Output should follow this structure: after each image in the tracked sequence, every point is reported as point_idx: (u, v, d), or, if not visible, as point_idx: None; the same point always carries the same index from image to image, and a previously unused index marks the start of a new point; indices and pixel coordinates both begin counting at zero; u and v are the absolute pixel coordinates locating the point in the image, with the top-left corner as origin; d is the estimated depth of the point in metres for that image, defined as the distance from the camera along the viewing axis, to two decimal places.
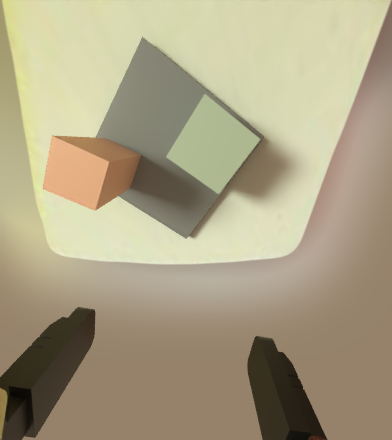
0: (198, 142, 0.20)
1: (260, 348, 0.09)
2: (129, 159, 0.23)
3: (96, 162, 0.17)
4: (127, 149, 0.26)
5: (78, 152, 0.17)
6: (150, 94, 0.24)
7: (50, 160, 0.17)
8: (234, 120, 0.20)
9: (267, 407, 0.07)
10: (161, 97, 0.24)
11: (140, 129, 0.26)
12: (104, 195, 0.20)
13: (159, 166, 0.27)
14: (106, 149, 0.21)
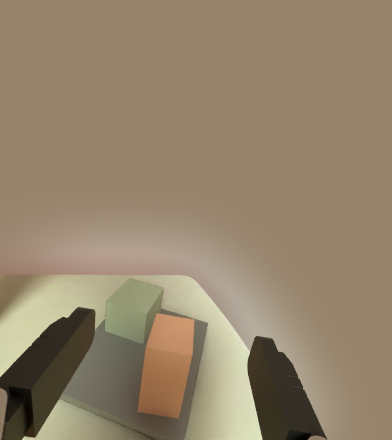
0: (134, 300, 0.33)
1: (260, 348, 0.09)
2: None
3: (158, 319, 0.25)
4: None
5: (154, 330, 0.23)
6: (94, 371, 0.27)
7: (165, 348, 0.21)
8: (120, 288, 0.35)
9: (267, 407, 0.07)
10: (97, 360, 0.28)
11: (125, 374, 0.27)
12: None
13: None
14: None
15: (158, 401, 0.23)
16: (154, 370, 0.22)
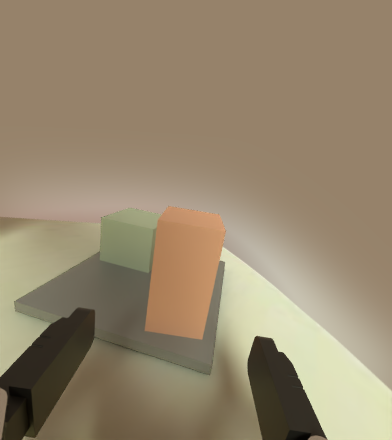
0: (137, 220, 0.26)
1: (260, 348, 0.09)
2: None
3: (172, 209, 0.18)
4: None
5: (167, 213, 0.17)
6: (85, 291, 0.20)
7: (186, 223, 0.15)
8: (119, 211, 0.28)
9: (267, 407, 0.07)
10: (90, 283, 0.22)
11: (127, 296, 0.21)
12: None
13: None
14: None
15: (174, 312, 0.16)
16: (169, 259, 0.15)
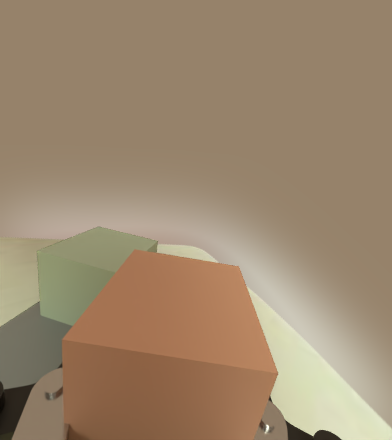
0: (99, 252, 0.16)
1: None
2: None
3: (139, 260, 0.08)
4: None
5: (119, 283, 0.07)
6: None
7: (155, 344, 0.05)
8: (76, 236, 0.19)
9: None
10: None
11: None
12: None
13: None
14: None
15: None
16: (110, 434, 0.05)
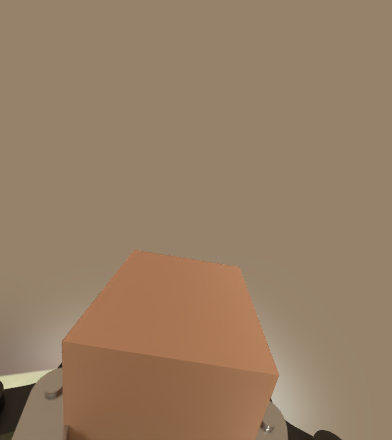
0: None
1: None
2: None
3: (139, 261, 0.08)
4: None
5: (119, 284, 0.07)
6: None
7: (155, 346, 0.05)
8: None
9: None
10: None
11: None
12: None
13: None
14: None
15: None
16: (110, 436, 0.05)
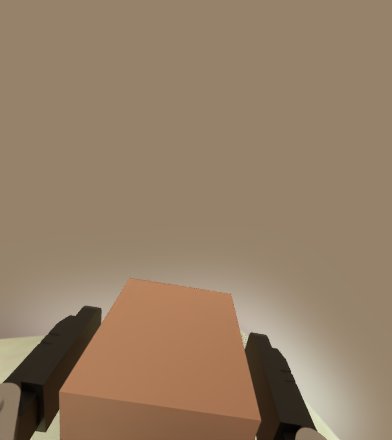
0: None
1: (254, 344, 0.09)
2: None
3: (134, 292, 0.09)
4: None
5: (114, 321, 0.07)
6: None
7: (146, 393, 0.05)
8: None
9: (260, 401, 0.08)
10: None
11: None
12: None
13: None
14: None
15: None
16: None
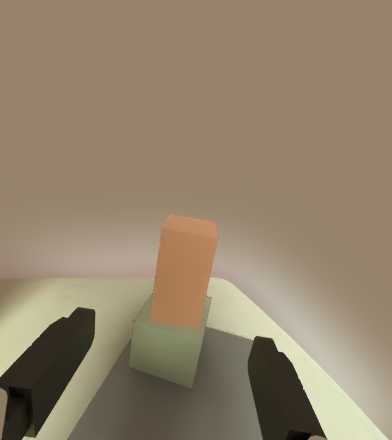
0: None
1: (260, 348, 0.09)
2: None
3: (173, 217, 0.21)
4: None
5: (169, 221, 0.19)
6: None
7: (185, 231, 0.17)
8: (150, 298, 0.23)
9: (267, 407, 0.07)
10: (124, 428, 0.16)
11: None
12: None
13: (214, 404, 0.19)
14: None
15: (175, 305, 0.19)
16: (171, 261, 0.18)
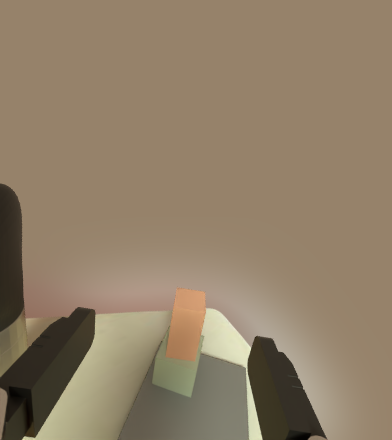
0: None
1: (260, 348, 0.09)
2: None
3: (179, 291, 0.34)
4: None
5: (177, 297, 0.32)
6: (153, 433, 0.28)
7: (187, 308, 0.30)
8: (164, 339, 0.36)
9: (267, 407, 0.07)
10: (153, 421, 0.29)
11: (182, 436, 0.28)
12: None
13: (204, 407, 0.32)
14: None
15: (180, 348, 0.32)
16: (178, 324, 0.31)
